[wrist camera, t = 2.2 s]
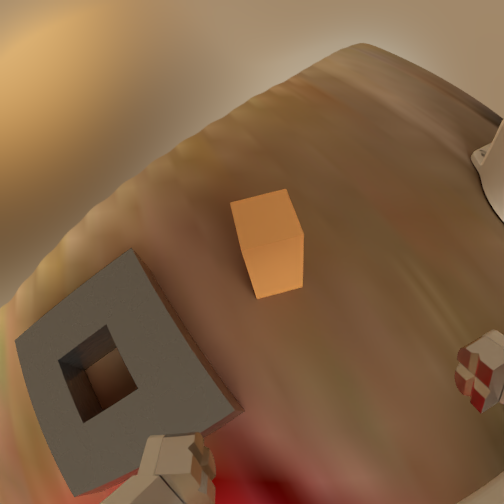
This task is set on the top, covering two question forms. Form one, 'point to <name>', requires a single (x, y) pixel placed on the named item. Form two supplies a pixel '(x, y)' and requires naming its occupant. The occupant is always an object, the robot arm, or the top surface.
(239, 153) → the top surface
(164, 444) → the robot arm
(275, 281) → the square block
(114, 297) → the square hole plate
